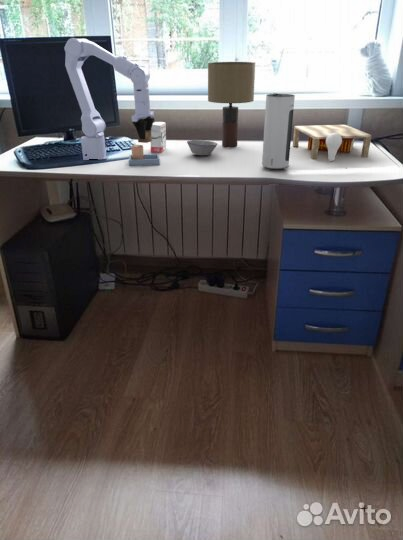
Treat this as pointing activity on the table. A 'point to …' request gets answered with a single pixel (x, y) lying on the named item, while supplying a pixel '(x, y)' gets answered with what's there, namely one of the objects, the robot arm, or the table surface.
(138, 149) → the wooden cylinder
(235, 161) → the table surface
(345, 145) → the book
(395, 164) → the table surface
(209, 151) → the bowl
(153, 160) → the tray
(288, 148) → the speaker
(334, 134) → the lightbulb
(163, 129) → the ink box
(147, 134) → the block
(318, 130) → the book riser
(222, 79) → the lamp
